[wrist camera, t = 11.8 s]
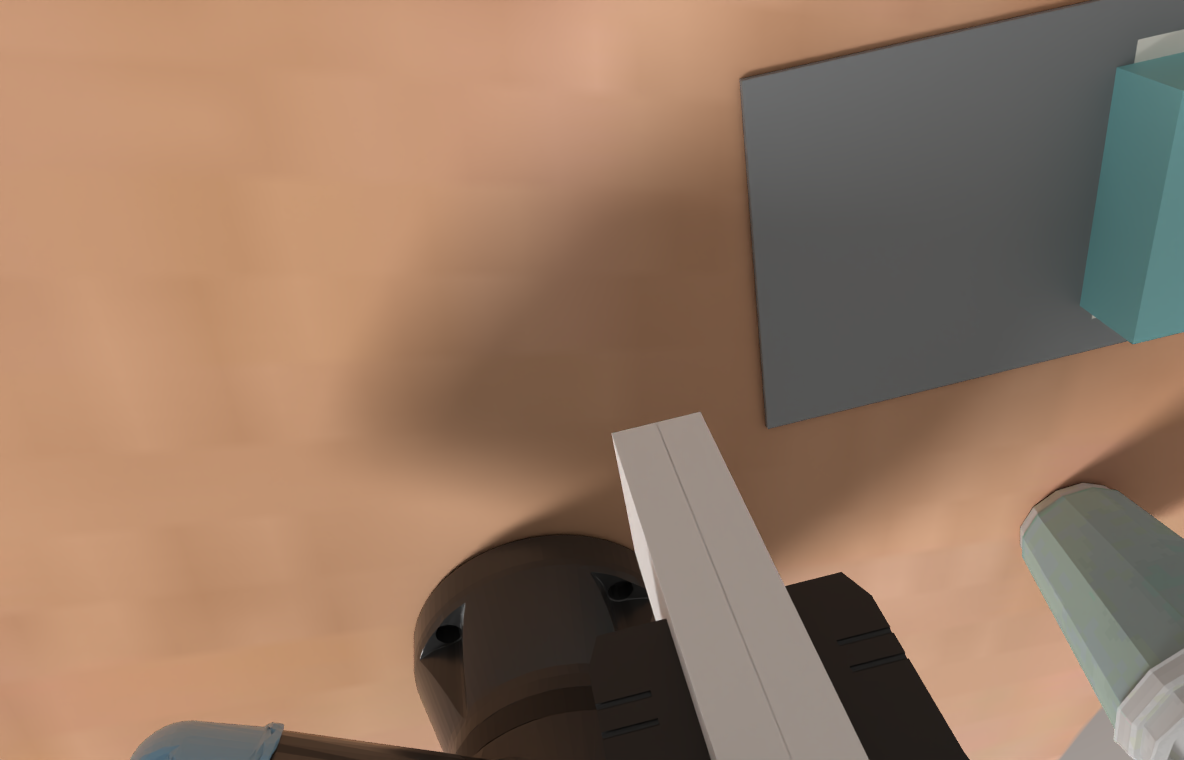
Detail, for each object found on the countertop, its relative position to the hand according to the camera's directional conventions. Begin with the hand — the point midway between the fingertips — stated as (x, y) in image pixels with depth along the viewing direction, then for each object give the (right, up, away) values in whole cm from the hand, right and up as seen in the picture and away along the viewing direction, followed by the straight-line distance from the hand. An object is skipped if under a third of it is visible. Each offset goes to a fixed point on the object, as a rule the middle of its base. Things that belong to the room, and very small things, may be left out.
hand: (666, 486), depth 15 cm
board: (+23, +11, +27) cm, 37 cm away
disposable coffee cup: (+27, -7, +39) cm, 49 cm away
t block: (+28, +12, +27) cm, 41 cm away
